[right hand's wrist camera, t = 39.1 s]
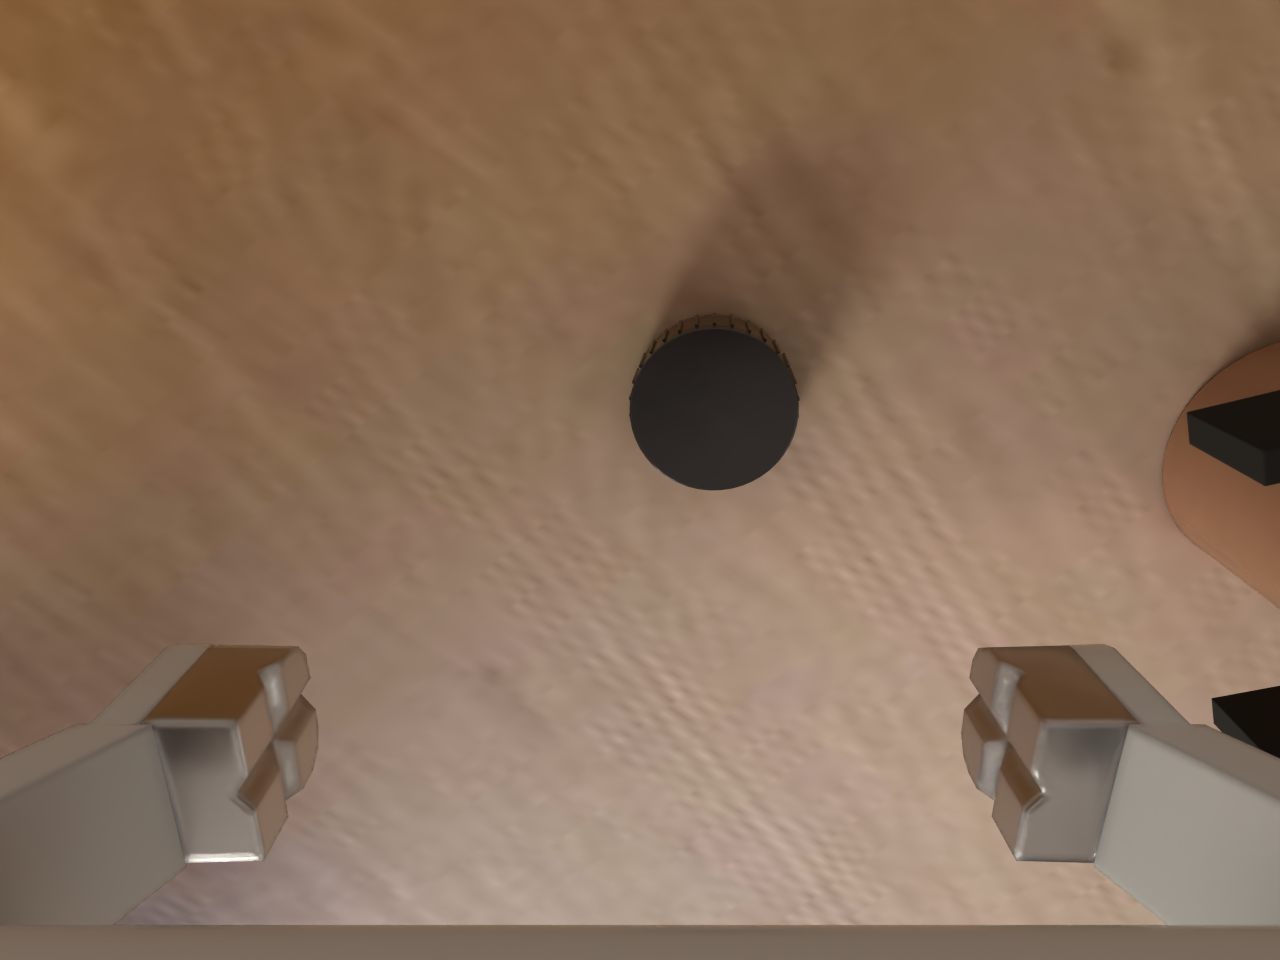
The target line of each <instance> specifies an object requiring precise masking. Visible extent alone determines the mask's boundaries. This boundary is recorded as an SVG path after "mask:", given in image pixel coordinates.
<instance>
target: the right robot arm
mask: <svg viewBox="0 0 1280 960" xmlns="http://www.w3.org/2000/svg"><path fill="white" fill-rule="evenodd" d="M310 678H311V677H310V672H309V667H308V663H307V658H306V654H305V653H304V652H303V651H302V650H301V649H300V648H299V647H298V646H250V645H217V646H215V645H213V644H199V645H175V646H170V647H166V648H165V649H164V650H163V651H162V652H161V653H160V654H159V655H158V656H157V657H156V658H155V659H154V660H153V661H152V662H151V663H150V664H149V665H148V666H147V667H146V668H145V669H144V670H143V671H142V672H141V673H140V674H139V675H138V676H137V677H136V678H135V679H134V680H133V681H132V682H131V683H130V684H129V685H128V686H127V687H126V688H125V689H124V690H123V691H122V692H121V693H120V694H119V695H118V696H117V697H116V698H115V699H114V700H113V701H112V702H111V703H110V704H109V705H108V706H107V707H106V708H105V709H104V710H103V711H102V712H101V713H100V714H99V715H98V716H97V717H96V718H95V719H94V720H93V721H92V722H91V723H90V724H81V725H73V726H71V727H69V728H67V729H64V730H62V731H60V732H58V733H56V734H53V735H51V736H49V737H47V738H45V739H42V740H40V741H38V742H36V743H33V744H31V745H29V746H27V747H25V748H22V749H20V750H18V751H16V752H13V753H11V754H9V755H7V756H5V757H2V758H0V960H1280V758H1277V757H1275V756H1273V755H1271V754H1269V753H1266V752H1264V751H1262V750H1260V749H1258V748H1255V747H1253V746H1251V745H1249V744H1246V743H1244V742H1242V741H1240V740H1238V739H1235V738H1233V737H1231V736H1229V735H1227V734H1224V733H1222V732H1220V731H1218V730H1216V729H1213V728H1211V727H1209V726H1207V725H1200V724H1190V723H1189V722H1188V721H1187V720H1186V719H1185V718H1184V717H1183V716H1182V715H1181V714H1180V713H1179V712H1178V711H1177V710H1176V709H1175V708H1174V707H1173V706H1172V705H1171V704H1170V703H1169V702H1168V701H1167V700H1166V699H1165V698H1164V697H1163V696H1162V695H1161V694H1160V693H1159V692H1158V691H1157V690H1156V689H1155V688H1154V687H1153V686H1152V685H1151V684H1150V683H1149V682H1148V681H1147V680H1146V679H1145V678H1144V677H1143V676H1142V675H1141V674H1140V673H1139V672H1138V671H1137V670H1136V669H1135V668H1134V667H1133V666H1132V665H1131V664H1130V663H1129V662H1128V661H1127V660H1126V659H1125V658H1124V657H1123V656H1122V655H1121V654H1120V653H1119V652H1118V651H1117V650H1116V649H1115V648H1113V647H1110V646H1108V645H1105V644H1089V645H1063V646H1029V647H989V648H978V650H977V652H976V654H975V656H974V658H973V660H972V666H971V672H970V677H969V678H970V680H971V681H972V683H973V684H974V686H975V688H976V689H977V691H978V692H979V695H978V696H977V697H976V698H975V699H974V700H973V701H972V702H971V703H970V704H969V705H968V706H967V707H966V708H965V709H964V715H963V723H962V731H961V735H962V746H963V756H964V759H965V763H966V766H967V769H968V772H969V775H970V776H971V778H972V780H973V782H974V784H975V786H976V788H977V789H978V790H980V791H981V792H983V793H984V794H986V795H987V796H989V797H990V798H992V799H993V800H994V806H993V812H992V818H993V820H994V821H995V823H996V825H997V827H998V829H999V830H1000V832H1001V834H1002V836H1003V838H1004V840H1005V841H1006V843H1007V845H1008V847H1009V849H1010V850H1011V852H1012V854H1013V856H1014V858H1015V860H1016V861H1044V862H1081V863H1094V867H1095V868H1096V869H1098V870H1099V871H1100V872H1101V873H1103V874H1104V875H1105V876H1106V877H1108V878H1109V879H1110V880H1111V881H1113V882H1114V883H1115V884H1116V885H1118V886H1119V887H1120V888H1121V889H1123V890H1124V891H1125V892H1127V893H1128V894H1129V895H1130V896H1132V897H1133V898H1134V899H1135V900H1137V901H1138V902H1139V903H1140V904H1142V905H1143V906H1144V907H1145V908H1147V909H1148V910H1149V911H1151V912H1152V913H1153V914H1154V915H1156V916H1157V917H1158V918H1159V919H1161V920H1162V921H1163V922H1164V923H1166V924H1167V925H113V924H115V923H116V922H117V921H118V920H120V919H121V918H122V917H123V916H125V915H126V914H127V913H129V912H130V911H131V910H132V909H134V908H135V907H136V906H137V905H139V904H140V903H141V902H142V901H144V900H145V899H146V898H147V897H149V896H150V895H151V894H153V893H154V892H155V891H156V890H158V889H159V888H160V887H161V886H163V885H164V884H165V883H166V882H168V881H169V880H170V879H171V878H173V877H174V876H175V875H177V874H178V873H179V872H180V871H182V870H183V869H184V868H185V867H186V863H199V862H234V861H264V860H265V858H266V856H267V854H268V852H269V851H270V849H271V847H272V845H273V843H274V841H275V840H276V838H277V836H278V834H279V832H280V831H281V829H282V827H283V825H284V823H285V821H286V820H287V818H288V812H287V806H286V800H287V799H288V798H290V797H291V796H293V795H294V794H296V793H297V792H299V791H300V790H302V789H303V788H304V786H305V784H306V782H307V780H308V778H309V776H310V774H311V772H312V770H313V766H314V762H315V757H316V753H317V749H318V721H317V714H316V709H315V708H314V707H313V706H312V705H311V704H310V703H309V702H308V701H307V700H306V699H305V698H304V697H303V696H302V695H301V692H302V691H303V689H304V688H305V686H306V684H307V683H308V681H309V680H310Z"/></svg>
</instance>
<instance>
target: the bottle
mask: <svg viewBox="0 0 1280 960" xmlns="http://www.w3.org/2000/svg"><path fill="white" fill-rule="evenodd" d="M1277 390H1280V342H1279V343H1275V344H1272V345H1269V346H1266V347H1264V348H1261V349H1259V350H1257V351H1254V352H1252V353H1250V354H1248V355H1246V356H1244V357H1243V358H1241V359H1239V360H1237V361H1235V362H1234V363H1232V364H1231V365H1229V366H1228V367H1227V368H1225V369H1224V370H1222V371H1221V372H1219V373H1218V374H1217V375H1216V376H1215V377H1214V378H1212V379H1211V380H1210V381H1209V382H1208V383H1207V384H1205V385H1204V387H1203V388H1202V389H1201V390H1200V391H1199V392H1198V393H1197V394H1196V395H1195V396H1194V397H1193V399H1192V400H1191V401H1190V403H1189V404H1188V405H1187V407H1186V408H1185V409H1184V411H1183V412H1182V414H1181V416H1180V417H1179V419H1178V421H1177V423H1176V424H1175V426H1174V428H1173V431H1172V433H1171V436H1170V438H1169V440H1168V444H1167V447H1166V451H1165V455H1164V461H1163V469H1162V481H1163V490H1164V496H1165V500H1166V503H1167V506H1168V509H1169V512H1170V514H1171V516H1172V517H1173V519H1174V521H1175V523H1176V524H1177V526H1178V527H1179V528H1180V530H1181V531H1182V532H1183V533H1184V535H1185V536H1186V537H1188V538H1189V539H1190V540H1191V541H1192V542H1193V543H1194V544H1195V545H1197V546H1198V547H1199V548H1200V549H1202V550H1203V551H1204V552H1206V553H1207V554H1208V555H1210V556H1211V557H1212V558H1214V559H1215V560H1216V561H1217V562H1219V563H1220V564H1221V565H1223V566H1224V567H1225V568H1227V569H1228V570H1229V571H1230V572H1232V573H1233V574H1234V575H1236V576H1237V577H1238V578H1240V579H1241V580H1242V581H1244V582H1245V583H1246V584H1247V585H1249V586H1250V587H1251V588H1253V589H1254V590H1255V591H1257V592H1258V593H1259V594H1261V595H1262V596H1263V597H1264V598H1266V599H1267V600H1268V601H1270V602H1271V603H1272V604H1274V605H1275V606H1276V607H1277V608H1279V609H1280V483H1278V484H1274V485H1269V486H1264V485H1262V484H1260V483H1258V482H1256V481H1255V480H1253V479H1251V478H1249V477H1248V476H1246V475H1244V474H1242V473H1240V472H1239V471H1237V470H1235V469H1233V468H1232V467H1230V466H1228V465H1226V464H1224V463H1223V462H1221V461H1219V460H1217V459H1216V458H1214V457H1212V456H1210V455H1208V454H1207V453H1205V452H1203V451H1201V450H1199V449H1198V448H1196V447H1194V446H1192V445H1191V444H1189V434H1188V423H1187V412H1189V411H1194V410H1198V409H1202V408H1206V407H1210V406H1214V405H1219V404H1223V403H1227V402H1231V401H1235V400H1240V399H1244V398H1248V397H1252V396H1256V395H1261V394H1265V393H1269V392H1273V391H1277Z"/></svg>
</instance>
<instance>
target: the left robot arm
mask: <svg viewBox="0 0 1280 960" xmlns="http://www.w3.org/2000/svg"><path fill="white" fill-rule="evenodd" d="M1187 423H1188V434H1189V444H1191V445H1192V446H1194V447H1196V448H1198V449H1199V450H1201V451H1203V452H1205V453H1207V454H1208V455H1210V456H1212V457H1214V458H1216V459H1217V460H1219V461H1221V462H1223V463H1224V464H1226V465H1228V466H1230V467H1232V468H1233V469H1235V470H1237V471H1239V472H1240V473H1242V474H1244V475H1246V476H1248V477H1249V478H1251V479H1253V480H1255V481H1256V482H1258V483H1260V484H1262V485H1264V486H1269V485H1274V484H1278V483H1280V390H1277V391H1273V392H1269V393H1265V394H1261V395H1256V396H1252V397H1248V398H1244V399H1240V400H1235V401H1231V402H1227V403H1223V404H1219V405H1214V406H1210V407H1206V408H1202V409H1198V410H1194V411H1189V412H1187ZM1212 707H1213V718H1214V724H1215V725H1216V726H1217V727H1218V728H1219V729H1220V730H1221V732H1222V733H1224V734H1227V735H1229V736H1231V737H1233V738H1235V739H1238V740H1240V741H1242V742H1244V743H1246V744H1249V745H1251V746H1253V747H1255V748H1258V749H1260V750H1262V751H1264V752H1266V753H1269V754H1271V755H1273V756H1275V757H1277V758H1280V686H1276V687H1271V688H1265V689H1260V690H1255V691H1249V692H1244V693H1238V694H1233V695H1227V696H1222V697H1217V698H1212Z"/></svg>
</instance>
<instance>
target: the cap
mask: <svg viewBox="0 0 1280 960" xmlns="http://www.w3.org/2000/svg"><path fill="white" fill-rule="evenodd" d="M639 368H640V369H639ZM639 368H637V371H636V373H635V376H634V379H633V382H632V383H633V384H634V386H633V389H632V391H631V394H630V397H629V400H630V414H629V416H630V420H631V426H632V430H633V433H634V436H635V439H636V441H637V443H638V445H639V447H640V449H641V451H642V452H643V454H644V455H645V457H646V458H647V459H648V460H649V462H650V463H651V464H652V465H653V466H654V467H655V468H656V469H657V470H659V471H660V472H661V473H662V474H664V475H665V476H667V477H668V478H670V479H672V480H674V481H676V482H678V483H680V484H682V485H685V486H688V487H692V488H696V489H702V490H725V489H731V488H735V487H739V486H742V485H745V484H747V483H749V482H752V481H754V480H755V479H757V478H759V477H761V476H762V475H763V474H765V473H766V472H768V471H769V470H770V469H771V468H772V467H773V466H774V465H775V464H776V463H777V462H778V461H779V460H780V459H781V457H782V456H783V455H784V453H785V452H786V450H787V448H788V447H789V445H790V443H791V441H792V438H793V436H794V433H795V430H796V426H797V421H798V417H799V415H798V414H799V403H798V401H799V396H798V394H797V390H796V386H795V384H797V382H796V380H795V377H794V375H793V372H792V370H791V368H790V365H789V363H788V360H787V358H786V355H785V353H783V354H782V353H781V351H780V349H779V348H778V345H777V342H776V341H775V339H774V340H772V339H771V338H770V337H769V336H768V335H767V334H765V332H764V329H762V328H761V329H759V328H757V327H756V326H754V325H752V324H750V322H749V320H746V321H744V320H741V319H738V318H734V317H733V315H730V316H723V315H716V313H713V315H705V316H700V317H699V315H696V317H695V318H691V319H688V320H685V321H682V320H681V321H679V324H677V325H675V326H673V327H672V328H670V329H669V330H668V329H665V331H664V334H662V335H661V336H660V337H659V338H658V339H657V340H653V342H652V345H651V347H650V349H649V350H648V352H647V353H644V354H643V357H642V359H641V362H640V365H639Z"/></svg>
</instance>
